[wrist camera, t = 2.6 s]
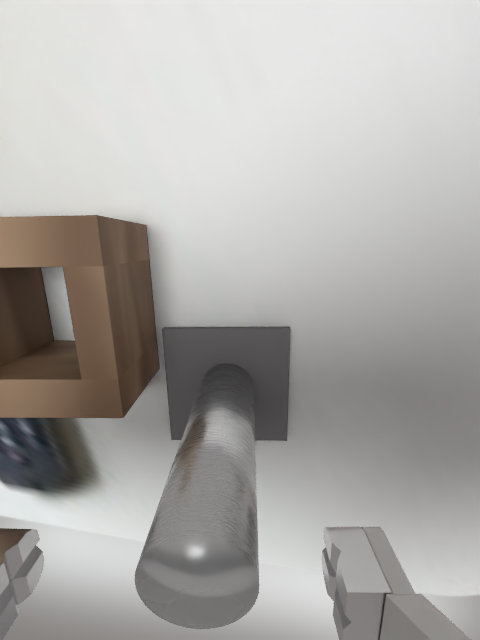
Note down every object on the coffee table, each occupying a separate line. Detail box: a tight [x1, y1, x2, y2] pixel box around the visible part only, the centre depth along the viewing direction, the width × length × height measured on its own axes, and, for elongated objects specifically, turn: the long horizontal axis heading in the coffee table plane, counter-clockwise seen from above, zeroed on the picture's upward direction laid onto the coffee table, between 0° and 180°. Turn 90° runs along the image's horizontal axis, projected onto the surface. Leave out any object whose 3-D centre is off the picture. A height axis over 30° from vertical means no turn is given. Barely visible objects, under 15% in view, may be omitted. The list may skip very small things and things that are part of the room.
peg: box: [135, 363, 259, 629], centre depth 12 cm, size 3×3×10 cm
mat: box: [162, 327, 290, 441], centre depth 17 cm, size 7×7×1 cm
